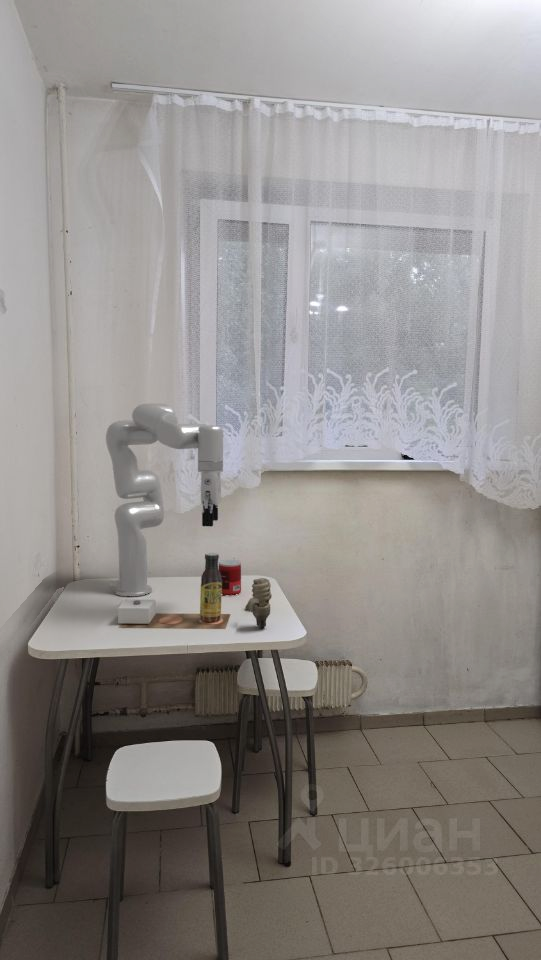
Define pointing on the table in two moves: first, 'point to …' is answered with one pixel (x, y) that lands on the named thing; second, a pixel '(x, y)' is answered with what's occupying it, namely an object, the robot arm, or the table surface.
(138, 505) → the robot arm
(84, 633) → the table surface
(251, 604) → the beige rounded lump
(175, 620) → the board
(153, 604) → the block
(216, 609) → the sauce bottle
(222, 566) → the canned food
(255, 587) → the light bulb
